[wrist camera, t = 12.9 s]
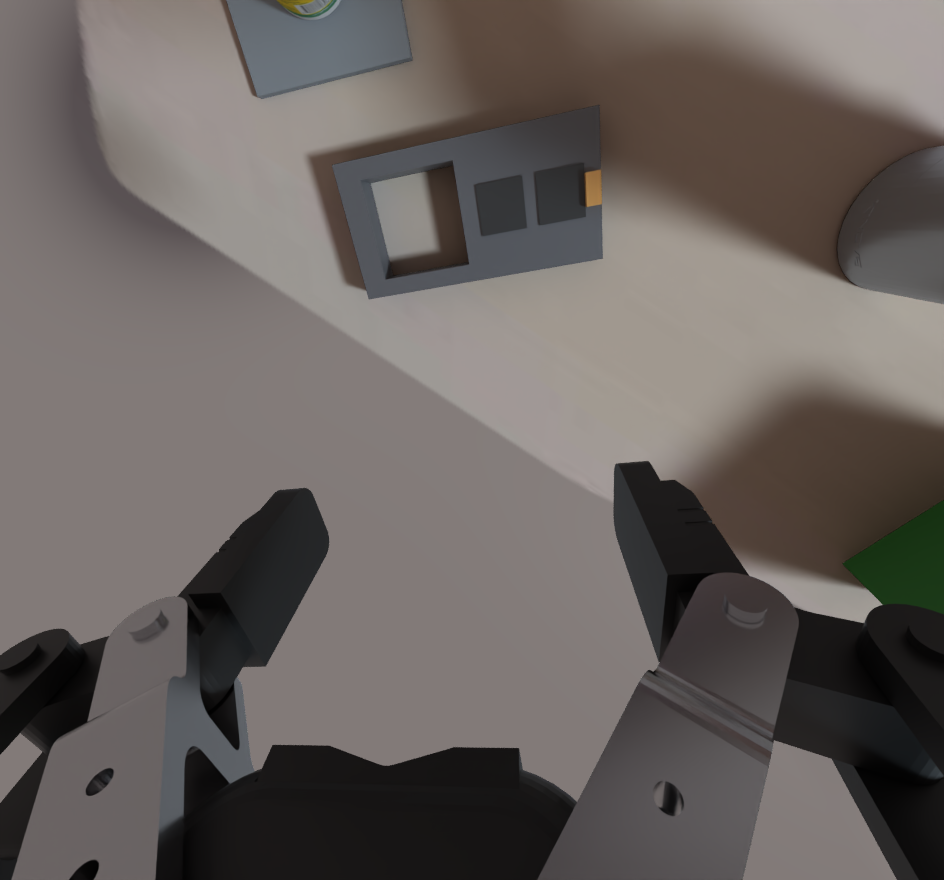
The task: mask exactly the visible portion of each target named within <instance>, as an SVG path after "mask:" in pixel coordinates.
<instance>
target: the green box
mask: <svg viewBox="0 0 944 880" xmlns="http://www.w3.org/2000/svg"><path fill="white" fill-rule="evenodd" d="M842 564H843V565H844V566H845V567H846V568H847V569H848V570H849V571H850V572H851V573H852V574H853V575H854V576H855V577H856V578H857V579H858V580H859V581H860V582H861V583H862V584H863V585H864V586H865V587H866V588H867V589H868V590H869V591H870V592H871V593H872V594H873V595H874V596H875V597H876V598H877V599H878V600H879V601H880V602H881V603H882V604H883V605H886V604H907V605H913V606H918V607H922V608H926V609H930V610H933V611H936V612H938V613H941V614H944V500H943V501H941V502H940V503H938V504H936V505H935V506H933V507H932V508H930V509H928V510H927V511H925V512H924V513H922V514H920V515H919V516H917V517H916V518H914V519H912V520H911V521H909V522H908V523H906V524H905V525H903V526H901V527H900V528H898V529H897V530H895V531H893V532H892V533H890V534H889V535H887V536H885V537H884V538H882V539H881V540H879V541H877V542H876V543H874V544H873V545H871V546H870V547H868V548H866V549H865V550H863V551H862V552H860V553H858V554H857V555H855V556H854V557H852V558H850V559H849V560H847V561H846V562H844V563H842Z"/></svg>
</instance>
